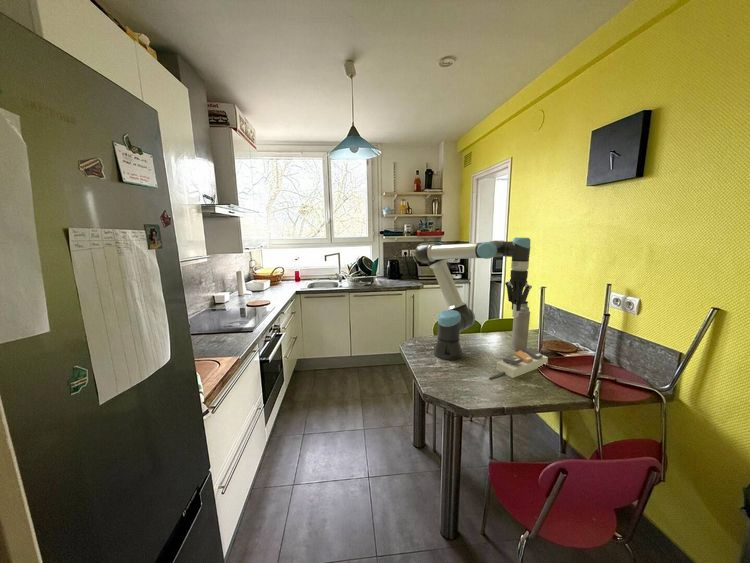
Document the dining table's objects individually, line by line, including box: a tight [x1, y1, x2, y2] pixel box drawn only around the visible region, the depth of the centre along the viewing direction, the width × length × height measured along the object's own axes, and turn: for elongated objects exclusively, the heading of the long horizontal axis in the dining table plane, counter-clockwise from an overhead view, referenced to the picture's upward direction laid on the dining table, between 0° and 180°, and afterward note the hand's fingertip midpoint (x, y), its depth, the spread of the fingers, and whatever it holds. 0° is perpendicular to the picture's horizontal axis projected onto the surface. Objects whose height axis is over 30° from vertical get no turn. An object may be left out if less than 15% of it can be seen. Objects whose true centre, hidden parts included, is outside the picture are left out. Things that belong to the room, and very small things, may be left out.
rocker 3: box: [524, 347, 544, 359], centre depth 148 cm, size 7×5×2 cm
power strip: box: [488, 352, 549, 380], centre depth 142 cm, size 9×38×5 cm, turn 120°
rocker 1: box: [502, 356, 523, 364], centre depth 140 cm, size 7×5×2 cm
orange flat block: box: [513, 351, 533, 363], centre depth 144 cm, size 7×5×2 cm
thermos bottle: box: [510, 300, 531, 353], centre depth 165 cm, size 8×8×28 cm
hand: (515, 316), depth 146 cm, fingers closed
